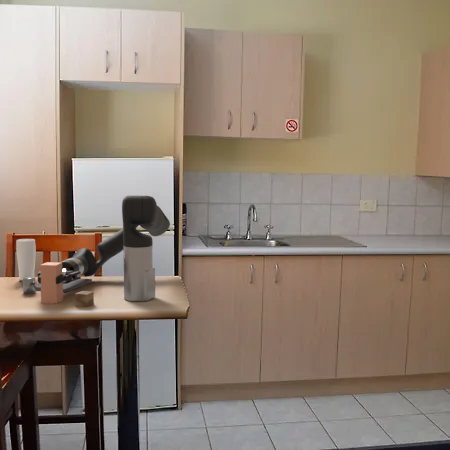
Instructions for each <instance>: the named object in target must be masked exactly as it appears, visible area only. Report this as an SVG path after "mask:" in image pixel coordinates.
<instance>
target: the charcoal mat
mask: <svg viewBox="0 0 450 450" xmlns="http://www.w3.org/2000/svg"><path fill="white" fill-rule="evenodd" d="M91 283H93V279H92V278H83V277H81V279H78V280H75V281H72V282H70V283H67V284H63V293H67V292H70V291H72V290H75V289H77V288H80V287H82V286H85V285H87V284H91ZM36 291H41V284H40V283H36Z"/></svg>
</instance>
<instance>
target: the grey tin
mask: <svg viewBox="0 0 450 450" xmlns="http://www.w3.org/2000/svg"><path fill="white" fill-rule="evenodd" d="M36 280H37V279H36V277H35V276H34V277H25V278H23V281H22V292H23V293H22V294H23V295H34V294H37V293H36V292H37V290H36V284H37V283H36Z"/></svg>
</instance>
